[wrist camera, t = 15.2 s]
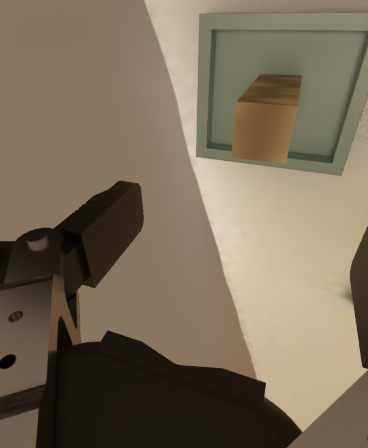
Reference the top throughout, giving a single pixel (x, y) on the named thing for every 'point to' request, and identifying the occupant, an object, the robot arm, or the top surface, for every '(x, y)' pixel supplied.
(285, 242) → the top surface
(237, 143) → the oak post
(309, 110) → the green tray
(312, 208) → the top surface
